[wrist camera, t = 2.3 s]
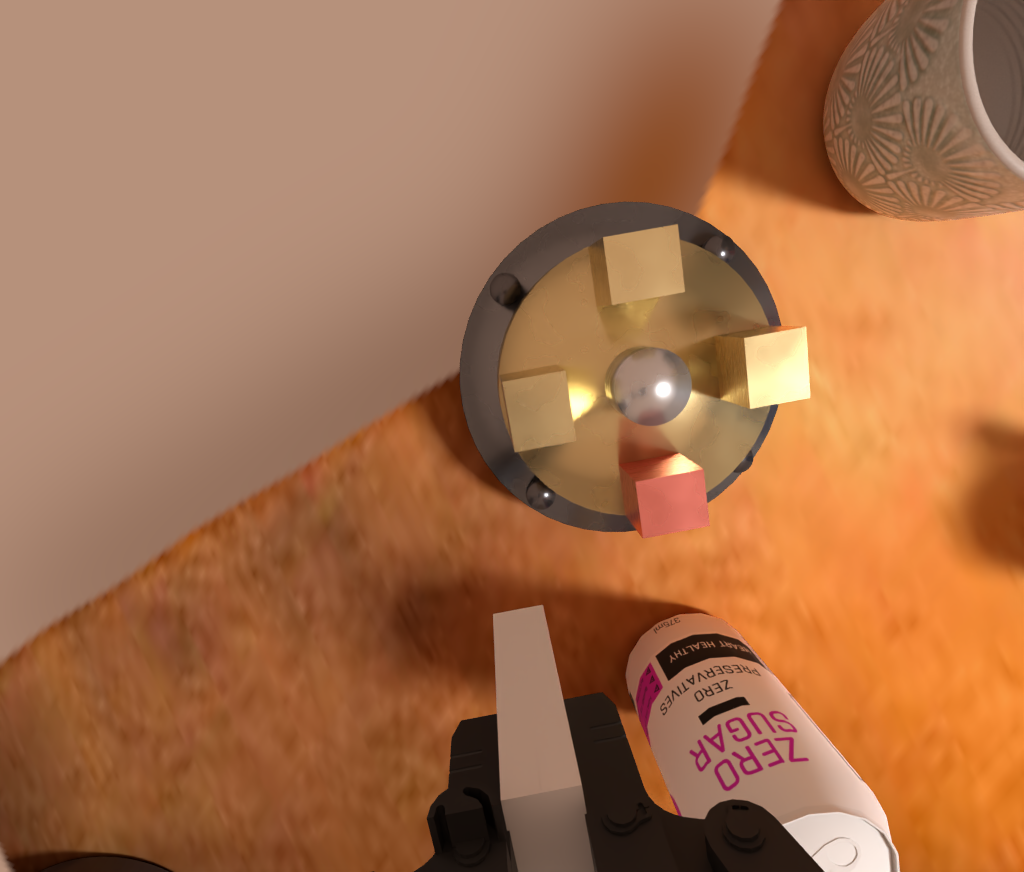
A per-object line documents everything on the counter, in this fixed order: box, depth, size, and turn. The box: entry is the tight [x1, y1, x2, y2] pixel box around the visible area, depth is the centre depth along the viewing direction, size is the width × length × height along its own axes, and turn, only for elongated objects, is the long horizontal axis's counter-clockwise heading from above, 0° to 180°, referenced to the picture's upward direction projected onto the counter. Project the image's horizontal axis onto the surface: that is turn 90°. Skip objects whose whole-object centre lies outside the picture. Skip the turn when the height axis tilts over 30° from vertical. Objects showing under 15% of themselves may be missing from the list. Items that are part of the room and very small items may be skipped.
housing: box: [460, 202, 781, 532], centre depth 30 cm, size 18×18×8 cm
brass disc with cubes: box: [497, 224, 810, 538], centre depth 28 cm, size 14×14×6 cm
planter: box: [823, 0, 1024, 221], centre depth 26 cm, size 12×12×11 cm
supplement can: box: [625, 613, 900, 872], centre depth 30 cm, size 8×8×15 cm
